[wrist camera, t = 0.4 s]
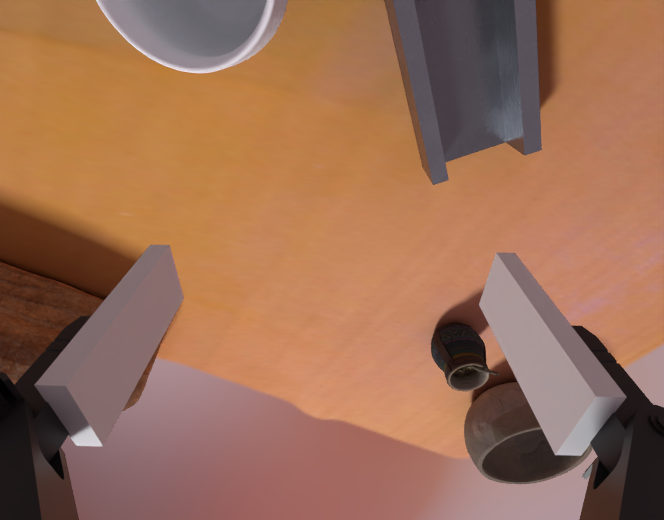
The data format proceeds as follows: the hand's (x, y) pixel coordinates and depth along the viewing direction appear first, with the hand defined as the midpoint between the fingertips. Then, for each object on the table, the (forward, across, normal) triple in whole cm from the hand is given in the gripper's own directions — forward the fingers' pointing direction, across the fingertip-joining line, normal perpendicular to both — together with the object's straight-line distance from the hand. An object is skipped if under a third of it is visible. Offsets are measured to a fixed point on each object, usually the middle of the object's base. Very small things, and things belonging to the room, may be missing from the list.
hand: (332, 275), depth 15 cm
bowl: (+26, +31, -45) cm, 61 cm away
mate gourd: (+26, +18, -29) cm, 43 cm away
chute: (+26, +10, +9) cm, 29 cm away
